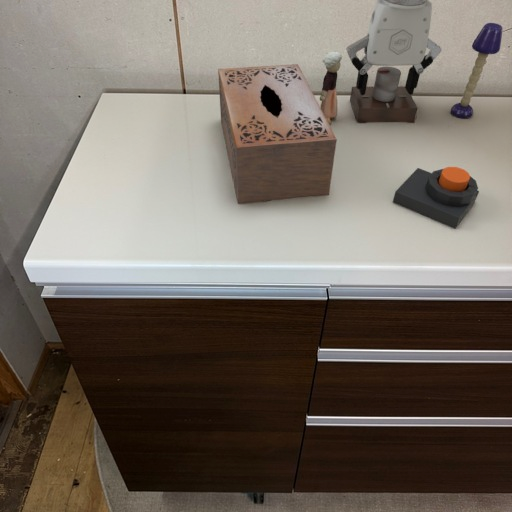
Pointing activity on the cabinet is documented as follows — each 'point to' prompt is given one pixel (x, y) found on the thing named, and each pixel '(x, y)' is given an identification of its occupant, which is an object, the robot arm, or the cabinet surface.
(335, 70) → the grandmother figurine
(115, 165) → the cabinet surface
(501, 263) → the cabinet surface
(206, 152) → the cabinet surface
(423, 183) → the switch block
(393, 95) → the dimmer knob
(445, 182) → the lamp switch
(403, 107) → the dimmer panel
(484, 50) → the toy lamp
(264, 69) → the tissue box cover
